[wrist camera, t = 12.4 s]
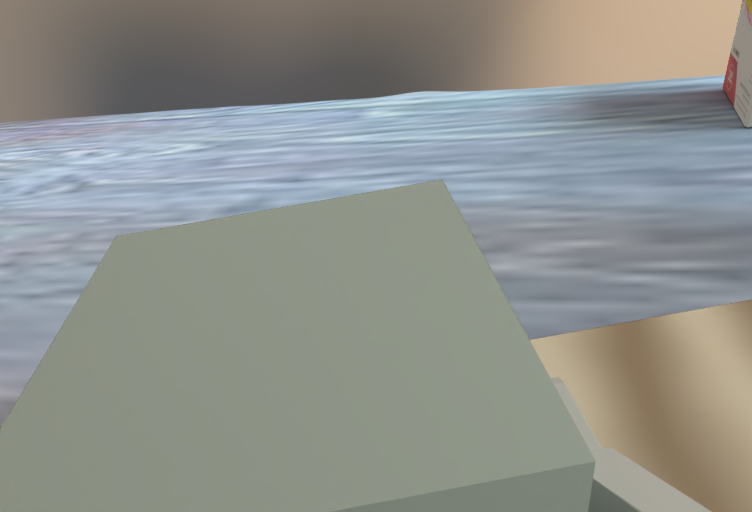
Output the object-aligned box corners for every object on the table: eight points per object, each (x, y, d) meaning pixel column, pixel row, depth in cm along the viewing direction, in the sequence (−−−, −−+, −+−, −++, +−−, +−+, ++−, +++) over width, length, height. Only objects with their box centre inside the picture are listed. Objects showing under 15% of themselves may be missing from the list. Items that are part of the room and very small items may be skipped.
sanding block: (553, 431, 16) (577, 133, 10) (743, 816, 9) (1064, 503, 4) (152, 507, 15) (-22, 237, 10) (33, 964, 9) (-650, 840, 3)
